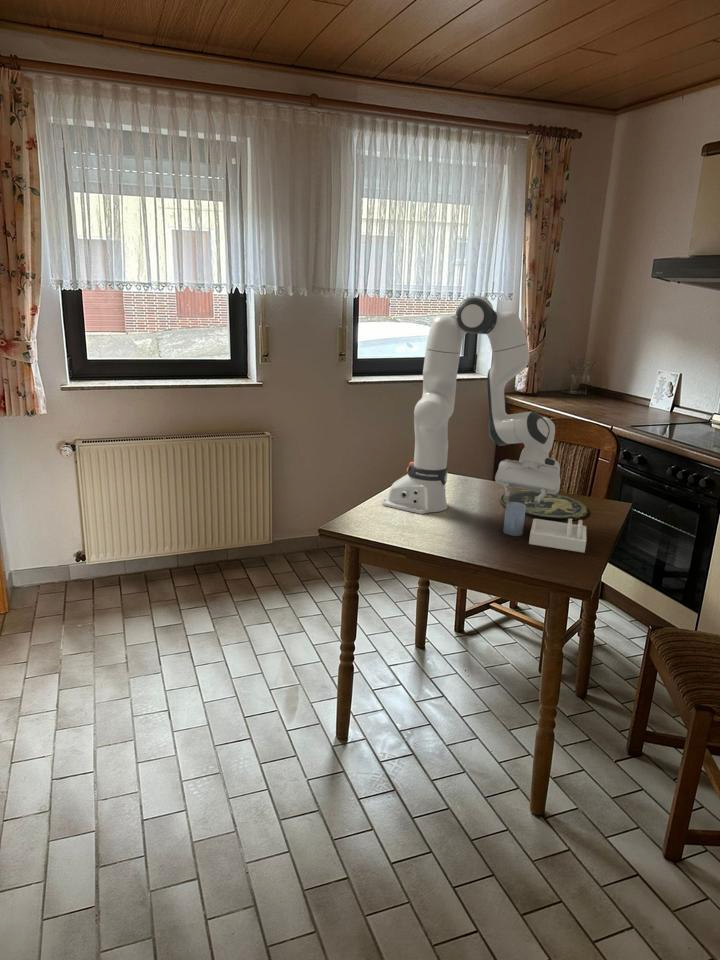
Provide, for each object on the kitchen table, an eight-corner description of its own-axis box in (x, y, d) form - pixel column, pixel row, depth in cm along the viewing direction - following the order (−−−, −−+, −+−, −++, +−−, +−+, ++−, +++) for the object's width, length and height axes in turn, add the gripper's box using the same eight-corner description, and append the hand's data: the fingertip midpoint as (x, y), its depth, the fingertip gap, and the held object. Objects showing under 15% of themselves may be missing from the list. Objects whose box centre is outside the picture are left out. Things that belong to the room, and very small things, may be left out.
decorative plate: (500, 511, 224) (500, 485, 252) (499, 516, 225) (499, 490, 253) (593, 522, 219) (582, 494, 247) (592, 527, 220) (582, 499, 248)
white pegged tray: (528, 543, 201) (531, 525, 199) (532, 528, 214) (534, 510, 212) (584, 552, 197) (587, 533, 195) (584, 536, 209) (587, 518, 208)
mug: (501, 535, 207) (504, 508, 204) (504, 527, 213) (507, 500, 211) (521, 538, 205) (524, 511, 202) (523, 530, 212) (526, 503, 209)
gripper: (499, 453, 219) (488, 489, 213) (563, 462, 210) (553, 500, 205) (502, 463, 224) (491, 498, 218) (564, 473, 215) (554, 510, 210)
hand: (521, 499), depth 211 cm, fingers open, 8 cm apart
